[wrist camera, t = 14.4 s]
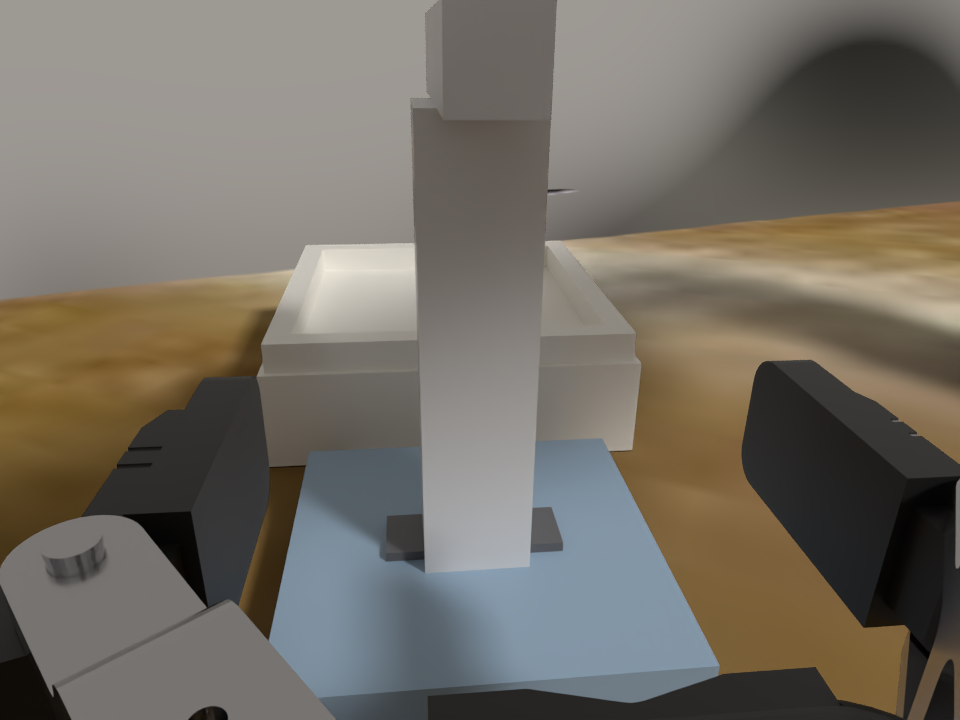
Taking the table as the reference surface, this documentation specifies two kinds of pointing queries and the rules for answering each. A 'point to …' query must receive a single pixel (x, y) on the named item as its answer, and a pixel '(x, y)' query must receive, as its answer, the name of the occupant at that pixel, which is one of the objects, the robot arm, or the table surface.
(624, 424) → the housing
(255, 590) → the table surface
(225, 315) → the table surface
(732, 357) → the table surface
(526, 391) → the snap cover
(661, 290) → the table surface
